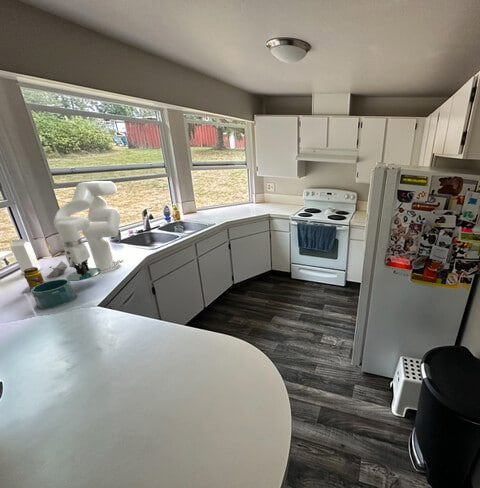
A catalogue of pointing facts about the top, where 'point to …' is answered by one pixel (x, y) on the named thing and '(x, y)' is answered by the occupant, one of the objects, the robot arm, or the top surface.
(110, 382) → the top surface
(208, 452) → the top surface
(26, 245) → the milk
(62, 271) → the paper boat
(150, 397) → the top surface
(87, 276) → the lid
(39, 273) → the condiment
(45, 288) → the pot
